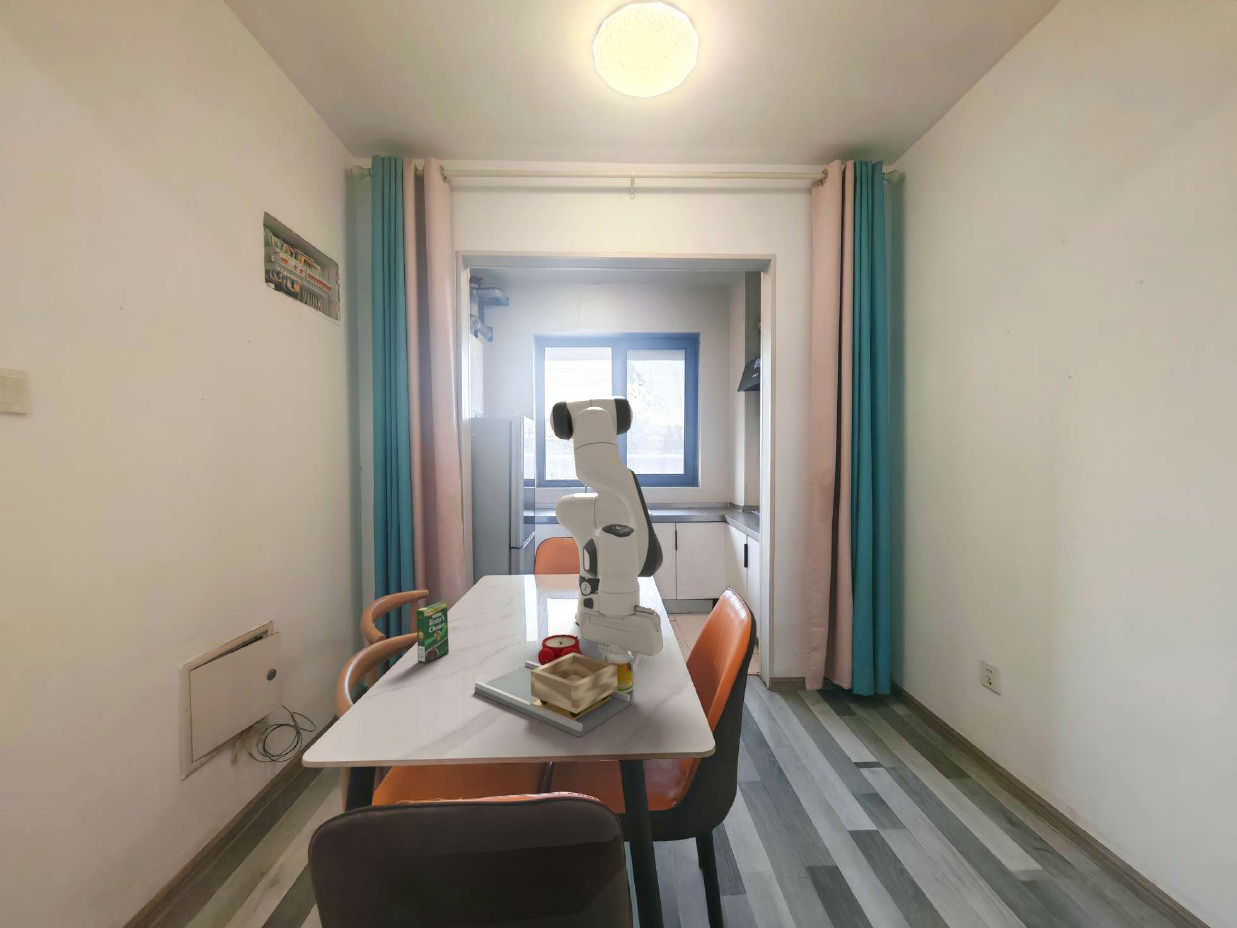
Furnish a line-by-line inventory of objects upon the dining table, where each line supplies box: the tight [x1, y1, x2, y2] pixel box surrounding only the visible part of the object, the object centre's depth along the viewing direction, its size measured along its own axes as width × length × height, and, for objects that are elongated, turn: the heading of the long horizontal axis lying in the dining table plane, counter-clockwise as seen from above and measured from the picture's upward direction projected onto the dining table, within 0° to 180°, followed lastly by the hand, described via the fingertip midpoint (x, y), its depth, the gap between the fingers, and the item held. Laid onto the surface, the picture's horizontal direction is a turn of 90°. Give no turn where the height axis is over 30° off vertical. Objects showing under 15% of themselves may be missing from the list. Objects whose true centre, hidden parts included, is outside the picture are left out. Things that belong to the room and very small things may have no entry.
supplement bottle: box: [608, 645, 634, 694], centre depth 108 cm, size 5×5×10 cm
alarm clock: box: [537, 634, 583, 665], centre depth 125 cm, size 10×6×15 cm
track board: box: [474, 660, 631, 738], centre depth 104 cm, size 15×30×2 cm, turn 52°
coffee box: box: [416, 601, 450, 664], centre depth 127 cm, size 8×3×13 cm, turn 154°
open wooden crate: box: [531, 652, 618, 717], centre depth 100 cm, size 12×12×6 cm
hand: (620, 666), depth 108 cm, fingers closed on supplement bottle, 5 cm apart
